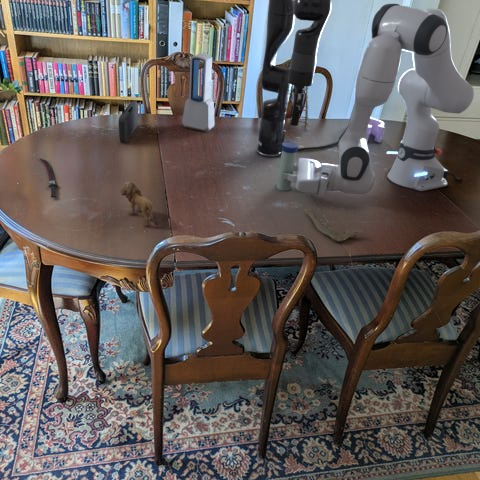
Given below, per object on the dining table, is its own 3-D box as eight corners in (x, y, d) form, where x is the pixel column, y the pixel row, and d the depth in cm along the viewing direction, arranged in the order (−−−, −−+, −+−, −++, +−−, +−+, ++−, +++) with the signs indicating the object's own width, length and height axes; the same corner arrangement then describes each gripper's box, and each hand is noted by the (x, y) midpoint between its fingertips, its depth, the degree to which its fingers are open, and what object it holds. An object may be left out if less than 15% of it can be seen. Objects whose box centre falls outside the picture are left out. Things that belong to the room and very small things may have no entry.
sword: (61, 197, 141) (61, 193, 140) (50, 198, 139) (50, 194, 139) (49, 160, 164) (48, 156, 163) (39, 160, 163) (39, 157, 162)
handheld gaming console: (132, 123, 199) (131, 100, 194) (138, 124, 200) (137, 100, 194) (118, 143, 180) (117, 117, 175) (125, 143, 180) (124, 118, 175)
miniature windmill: (306, 131, 212) (318, 62, 195) (287, 128, 213) (298, 59, 196) (307, 125, 219) (319, 58, 203) (289, 122, 220) (300, 55, 204)
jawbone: (347, 249, 132) (348, 244, 131) (288, 222, 142) (289, 217, 141) (362, 236, 138) (364, 230, 136) (304, 210, 148) (305, 205, 147)
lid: (281, 145, 156) (282, 140, 155) (297, 147, 156) (298, 142, 155) (281, 151, 152) (281, 146, 151) (297, 153, 151) (298, 148, 150)
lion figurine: (118, 210, 138) (116, 182, 133) (132, 204, 141) (131, 177, 137) (151, 229, 130) (150, 201, 126) (165, 223, 134) (165, 195, 129)
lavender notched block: (343, 126, 223) (346, 112, 219) (367, 127, 225) (371, 113, 221) (360, 142, 206) (364, 127, 202) (386, 142, 209) (390, 127, 205)
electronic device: (214, 128, 204) (219, 56, 188) (208, 133, 198) (212, 59, 182) (188, 122, 207) (190, 51, 191) (181, 127, 201) (183, 54, 185)
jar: (276, 183, 163) (282, 142, 155) (290, 185, 163) (297, 144, 155) (276, 189, 159) (282, 147, 151) (290, 191, 159) (297, 149, 151)
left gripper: (289, 61, 146) (282, 112, 154) (290, 71, 134) (282, 127, 142) (313, 64, 146) (304, 115, 154) (316, 74, 134) (306, 129, 142)
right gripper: (325, 156, 164) (286, 151, 165) (326, 180, 147) (283, 174, 148) (321, 172, 168) (283, 167, 168) (322, 198, 150) (280, 192, 151)
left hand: (293, 120), depth 148 cm, fingers open, 7 cm apart
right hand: (283, 171), depth 158 cm, fingers open, 5 cm apart
